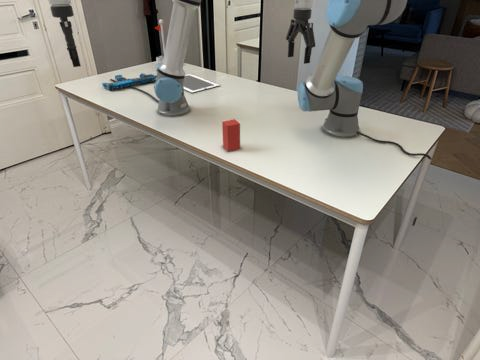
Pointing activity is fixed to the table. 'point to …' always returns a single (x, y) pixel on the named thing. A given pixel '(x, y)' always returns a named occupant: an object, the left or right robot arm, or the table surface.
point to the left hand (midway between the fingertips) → (75, 62)
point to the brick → (231, 135)
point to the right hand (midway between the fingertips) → (298, 60)
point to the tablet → (197, 83)
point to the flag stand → (160, 28)
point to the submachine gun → (128, 81)
